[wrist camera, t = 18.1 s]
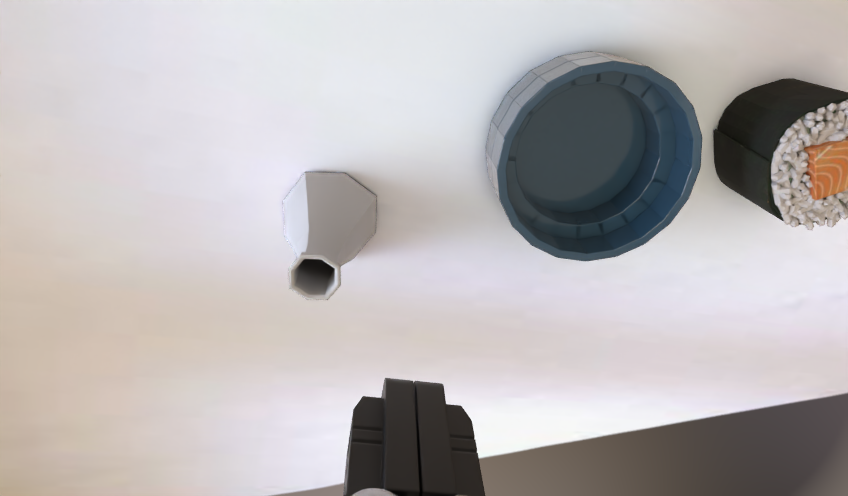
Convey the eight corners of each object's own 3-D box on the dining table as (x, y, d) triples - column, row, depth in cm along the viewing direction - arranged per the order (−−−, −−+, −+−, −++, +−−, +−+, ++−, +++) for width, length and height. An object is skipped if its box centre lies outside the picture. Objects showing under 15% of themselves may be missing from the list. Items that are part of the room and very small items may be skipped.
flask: (392, 188, 43) (392, 245, 34) (360, 270, 46) (353, 342, 37) (296, 155, 41) (270, 205, 32) (270, 241, 44) (239, 310, 35)
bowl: (507, 36, 39) (525, 44, 34) (691, 68, 40) (733, 81, 35) (469, 216, 44) (478, 247, 39) (632, 239, 46) (661, 271, 41)
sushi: (719, 204, 45) (781, 248, 38) (707, 101, 41) (774, 127, 34) (824, 171, 44) (909, 209, 37) (821, 63, 41) (914, 82, 33)
